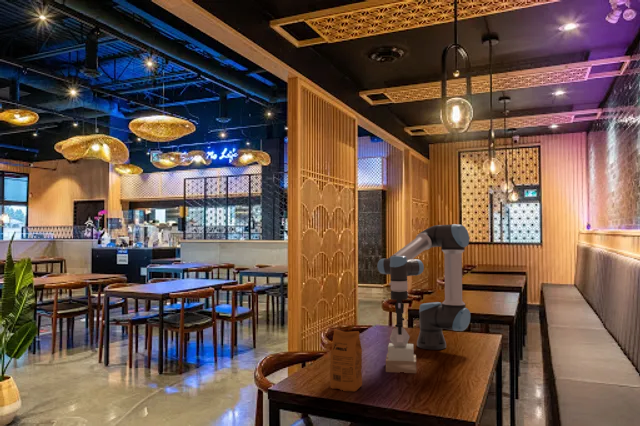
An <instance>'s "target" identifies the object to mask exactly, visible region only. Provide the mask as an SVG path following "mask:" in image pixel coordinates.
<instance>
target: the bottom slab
mask: <svg viewBox="0 0 640 426" xmlns="http://www.w3.org/2000/svg"><path fill="white" fill-rule="evenodd" d="M385 372H386V373H400V372H404V374H405V373H406V374H417V355H416V354H414V361H392V360H388V353H386V357H385Z"/></svg>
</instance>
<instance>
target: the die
mask: <svg viewBox="0 0 640 426" xmlns="http://www.w3.org/2000/svg"><path fill="white" fill-rule="evenodd" d="M389 340H390V343H392V344H393V345H394V347H406V346H407V344H409V343H408V342H409V340H410V335H409V333H408V332H407V330H406V329H405V328H404V327H403V342H397V327H394V328H393V329H392V330H391V334H390V336H389Z"/></svg>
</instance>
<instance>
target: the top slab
mask: <svg viewBox="0 0 640 426" xmlns="http://www.w3.org/2000/svg"><path fill="white" fill-rule="evenodd" d="M414 351H415V350H414V343H407V346H406V347H394V345H393V344H392V342H389V343H388V345H387V354H388V360H392V361H414V355H415V353H414Z"/></svg>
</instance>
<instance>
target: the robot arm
mask: <svg viewBox="0 0 640 426" xmlns="http://www.w3.org/2000/svg"><path fill="white" fill-rule="evenodd" d="M469 235H470V234H469V231H468V229H467V228H466V226H464V225H463V224H456V223H453V224H452V223H451V224H436V225H433V226H430V227H427V228H425V229H424V230H422V231H420V232H419V233H418V234H416V236H415V238H414V239H413V240H411V241H410V242H408V243H407V244H406V245H405V246H403V247H402V248H400V249H399V250H397V252H395V253H393V254H392V255H391V256H389V257H388V258H381V259H379V260H378V262H377V267H376V268H377V271H378V272H379V273H380V274H382V275H390V279H389V280H390V282H389V283H388V285H389V286H390V290H391V291H390V299H391V300H393V301H396V302H395V303H394V309H395V314H396V324H395V325H394V328H397V342H403V328H404V321H405V318H404V316H403V314H404V308H405V303H403V301H406V300H408V299H409V296H408V295H409V292H408V290H409V289H408V287H409V286H408V285H409V283H408V277H412V276H415V277H416V276H419V275H422V273H423V272H424V269H425V265H424V263H423V262H422V260H421V259H416V257H417V256H419V255H420V254H422V253H423V252H424V251H427V250H430V249H432V248H439V247H440V249H441V252H443V254H444V258H443V259H444V300H443V301H442V302H439V301H435V302H434V301H433V302H426V303H425V302H424V303H421V304H420V305H419V309H418V310H419V311H418V313H419V334H418V336H417V340H416V346H417V347H418V348H420V349H423V350H430V351H431V350H433V351H435V350H436V351H437V350H443V349H446V348H447V342H446V339H445V337H444V333H443V329H444V330H451V331H455V332H457V331H458V332H463V331H465V330H466V329H467V328H468V327H469V324H470V322H471V312H470V310H469V308H467V307H466V303H465V302H464V300H463V262H462V261H463V259H462V258H463V257H462V256H463V253H464V252H465V250H466V249H465V248H466V247H468V246H469V243H470V236H469Z"/></svg>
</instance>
